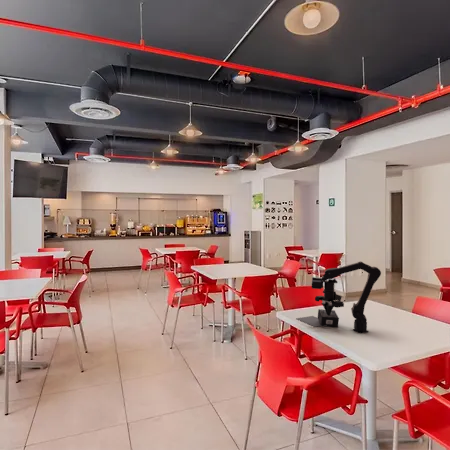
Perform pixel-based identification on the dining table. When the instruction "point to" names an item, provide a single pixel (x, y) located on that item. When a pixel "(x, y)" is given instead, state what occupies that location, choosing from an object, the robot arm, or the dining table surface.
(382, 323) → the dining table surface
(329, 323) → the small box
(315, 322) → the mat
